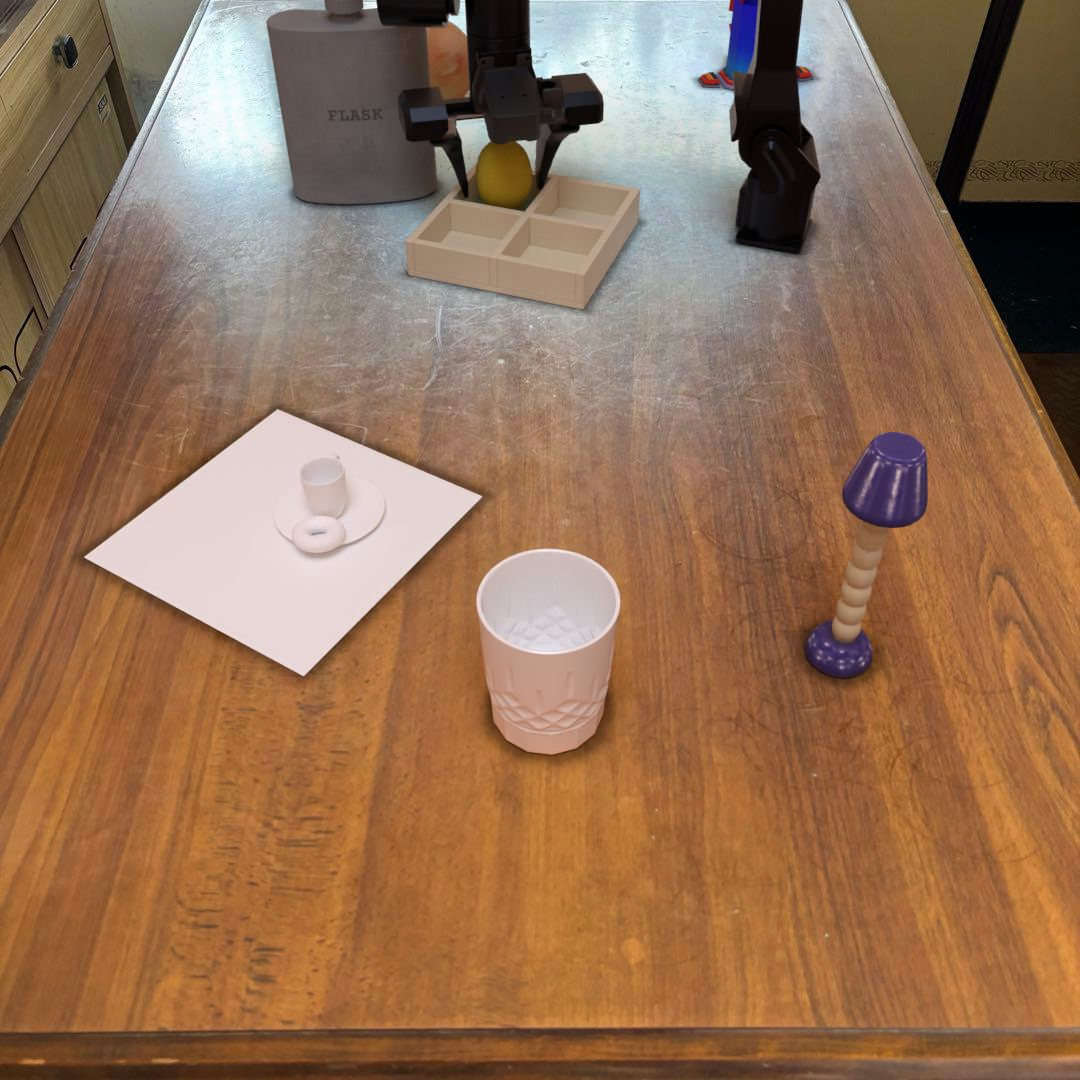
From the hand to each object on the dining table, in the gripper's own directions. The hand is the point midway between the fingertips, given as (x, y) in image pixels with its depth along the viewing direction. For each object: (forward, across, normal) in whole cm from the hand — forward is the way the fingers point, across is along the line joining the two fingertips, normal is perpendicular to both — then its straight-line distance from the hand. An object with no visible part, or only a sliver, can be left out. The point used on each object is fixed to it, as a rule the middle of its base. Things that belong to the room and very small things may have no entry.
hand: (502, 192), depth 109 cm
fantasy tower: (+3, +38, +29) cm, 48 cm away
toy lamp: (+3, +10, -60) cm, 61 cm away
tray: (+3, +1, -6) cm, 7 cm away
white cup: (+3, -10, -61) cm, 62 cm away
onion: (+3, -2, +30) cm, 30 cm away
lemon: (+2, 0, 0) cm, 3 cm away
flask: (+3, -13, +9) cm, 16 cm away
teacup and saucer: (+3, -24, -41) cm, 47 cm away
